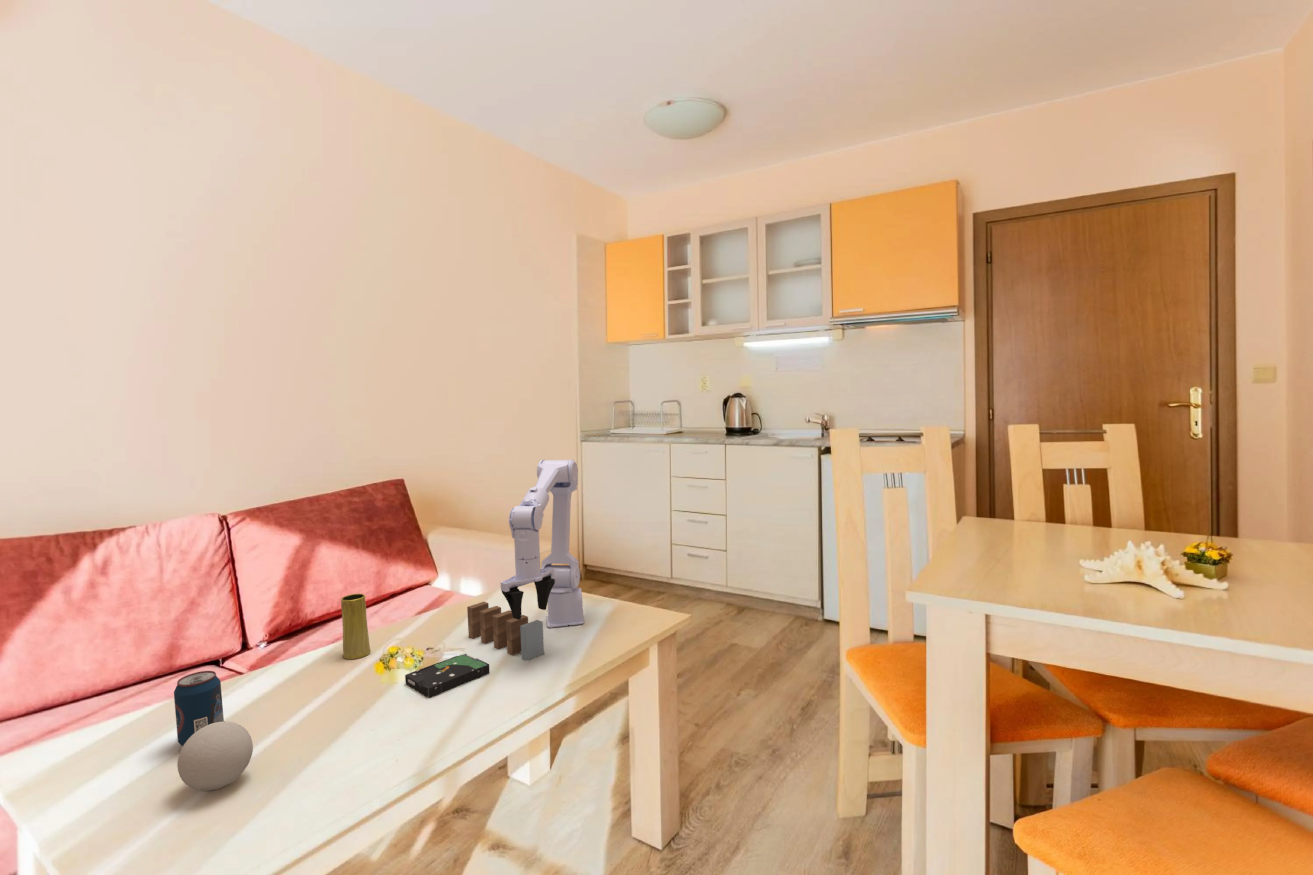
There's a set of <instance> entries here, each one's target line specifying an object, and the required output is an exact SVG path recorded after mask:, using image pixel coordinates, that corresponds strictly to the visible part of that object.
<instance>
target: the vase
mask: <svg viewBox="0 0 1313 875" xmlns="http://www.w3.org/2000/svg"><path fill="white" fill-rule="evenodd" d="M340 601H341V602H340V605H341V621H342V651H343V652H342V658H344V659H345V660H357V659H361V658H363V657H366V656H368V655H369V654H370V653H371V651H372V650H371V646H370V637H369V628H368V627H369V626H368V620H367V619H368V617H367V604H366V595H365V594H364V593H351V594H348V595H347V594H346V595H344V596H342V597H341V598H340Z"/></svg>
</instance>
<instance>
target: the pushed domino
mask: <svg viewBox="0 0 1313 875" xmlns="http://www.w3.org/2000/svg"><path fill="white" fill-rule="evenodd" d="M488 608H490V606H489V602H486V601H481V602H478V603H475V604H472V605H468V606H467V607H466V609H467V628H468V632H467V633H468V638H470V639H472V640H474V639H477V638H481V631H480V611H482V610H485V609H488Z"/></svg>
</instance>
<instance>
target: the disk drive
mask: <svg viewBox="0 0 1313 875" xmlns="http://www.w3.org/2000/svg"><path fill="white" fill-rule="evenodd" d="M490 671H491V670H490V663H487V662H486V661H483V660H481V659H480V658H477V657H476V658H475V657H473V656H470V655H468V653H463V654H460V655H455V656H452V657H450V658H447V659H444V660H442V661H439V662H437V663H434V664H431V665H428V666H426V667H422V668H420V669H417V670H415V671H411V672H409V673H407V674H405V675H404V679H405V680H404V682H405V685H406V686H408V687H409V688H411V689H413V690H414V691H416V692H417V693H419V694H420V695H422V696H424V697H426V698H427V699H430V698H434V697H436V696H439V695H441V694H443V693H446V692H447V691H450V690H453V689H455V688H457V687H461V686H462V685H464V684H468V683H471V682H473V681H475V680H478V679H480V678H482V677H485V676H487V675H490V674H491V673H490Z"/></svg>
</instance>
